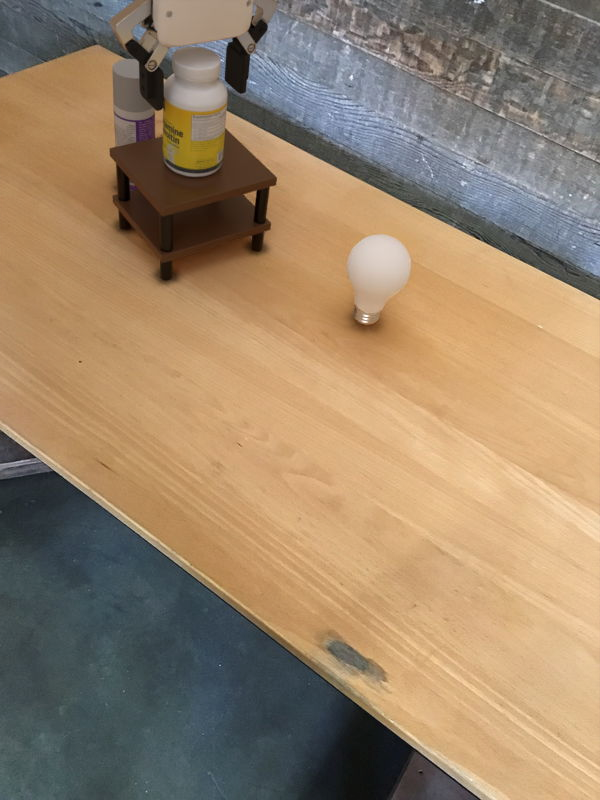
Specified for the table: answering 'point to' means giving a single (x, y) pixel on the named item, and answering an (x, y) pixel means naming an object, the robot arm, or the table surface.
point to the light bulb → (376, 274)
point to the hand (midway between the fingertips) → (195, 95)
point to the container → (130, 107)
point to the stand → (190, 200)
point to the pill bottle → (194, 113)
